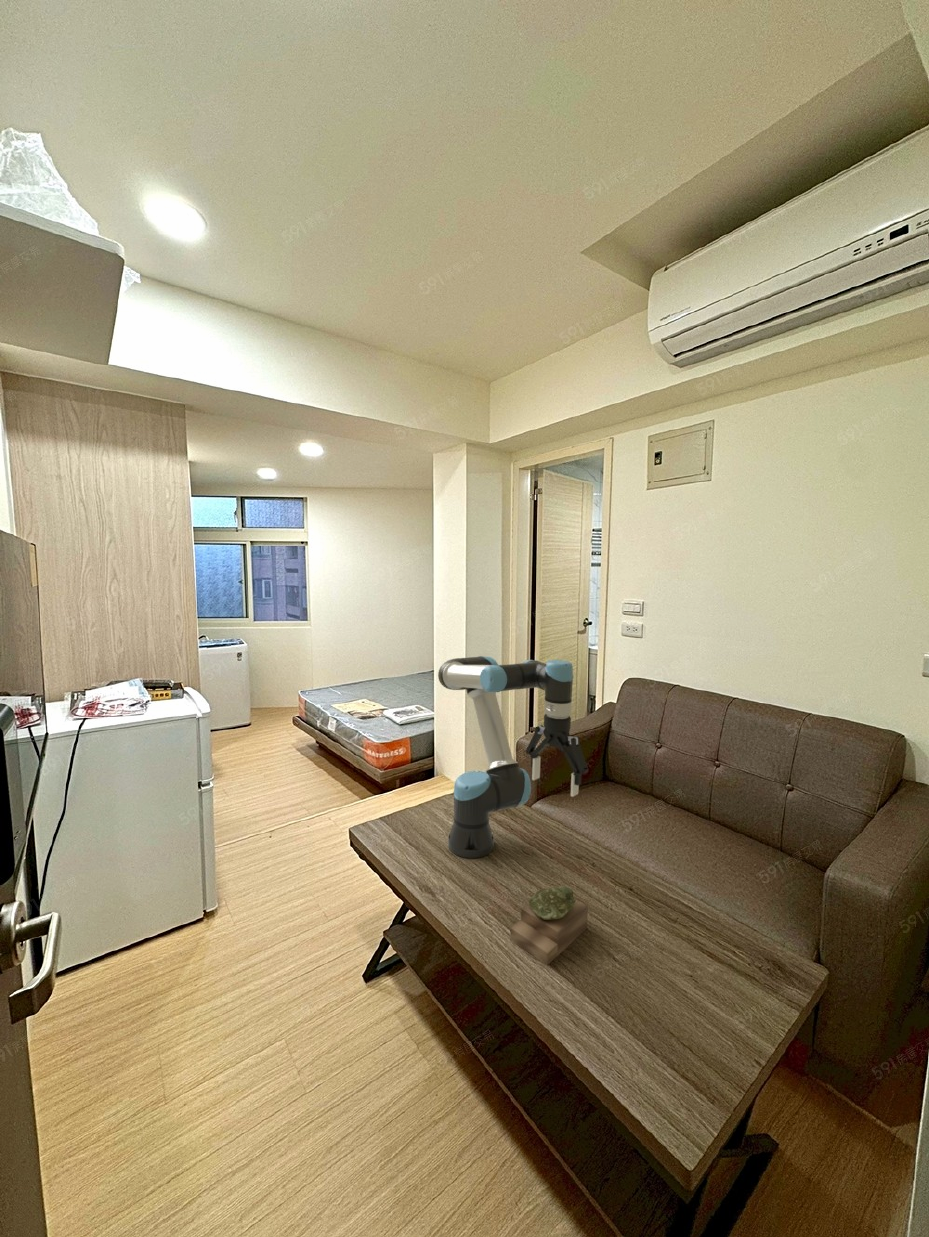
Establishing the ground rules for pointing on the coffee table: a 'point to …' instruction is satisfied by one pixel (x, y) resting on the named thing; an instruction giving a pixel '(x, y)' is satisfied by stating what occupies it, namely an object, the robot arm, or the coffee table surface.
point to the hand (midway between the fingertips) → (554, 786)
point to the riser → (548, 931)
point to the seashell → (552, 902)
